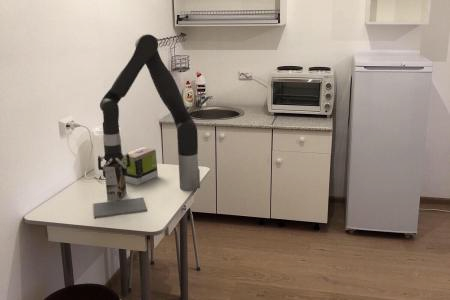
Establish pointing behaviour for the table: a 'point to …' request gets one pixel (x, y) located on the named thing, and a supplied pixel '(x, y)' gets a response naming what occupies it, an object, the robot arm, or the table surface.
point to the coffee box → (115, 182)
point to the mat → (119, 207)
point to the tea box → (141, 165)
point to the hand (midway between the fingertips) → (115, 176)
